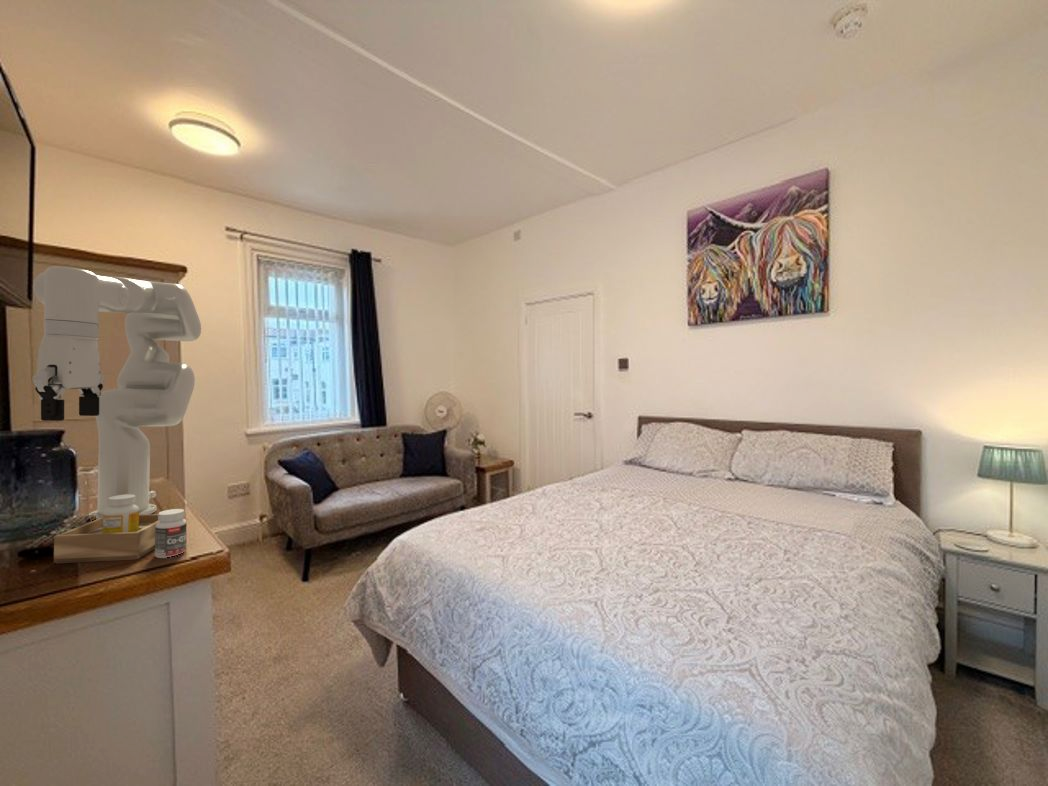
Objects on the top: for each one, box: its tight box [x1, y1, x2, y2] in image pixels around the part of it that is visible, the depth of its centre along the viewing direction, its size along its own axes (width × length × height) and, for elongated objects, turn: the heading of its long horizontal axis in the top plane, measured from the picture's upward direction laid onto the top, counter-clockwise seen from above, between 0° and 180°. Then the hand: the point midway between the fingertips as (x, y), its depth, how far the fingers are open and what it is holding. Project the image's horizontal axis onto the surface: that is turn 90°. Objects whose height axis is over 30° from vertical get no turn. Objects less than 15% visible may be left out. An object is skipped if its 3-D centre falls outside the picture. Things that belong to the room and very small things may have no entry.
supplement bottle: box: [103, 494, 139, 533], centre depth 87 cm, size 5×5×10 cm
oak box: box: [53, 513, 160, 564], centre depth 87 cm, size 13×13×5 cm
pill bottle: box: [154, 508, 187, 559], centre depth 85 cm, size 5×5×8 cm
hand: (71, 417), depth 86 cm, fingers open, 9 cm apart
